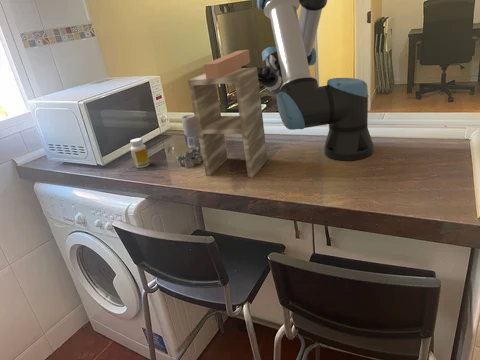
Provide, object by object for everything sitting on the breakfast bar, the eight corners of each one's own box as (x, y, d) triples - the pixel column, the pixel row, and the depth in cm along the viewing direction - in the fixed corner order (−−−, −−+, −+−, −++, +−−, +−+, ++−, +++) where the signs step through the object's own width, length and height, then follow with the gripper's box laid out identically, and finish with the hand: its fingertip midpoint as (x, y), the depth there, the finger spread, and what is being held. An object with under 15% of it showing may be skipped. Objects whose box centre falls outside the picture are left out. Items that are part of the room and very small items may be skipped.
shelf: (267, 159, 126) (256, 67, 113) (252, 177, 115) (239, 77, 102) (223, 158, 132) (209, 70, 120) (205, 175, 121) (187, 80, 108)
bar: (250, 62, 124) (248, 49, 122) (219, 78, 104) (216, 63, 103) (238, 63, 126) (237, 50, 124) (206, 79, 106) (203, 64, 104)
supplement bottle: (153, 162, 138) (146, 137, 134) (143, 168, 134) (137, 142, 130) (141, 161, 141) (134, 137, 137) (132, 167, 136) (124, 142, 132)
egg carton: (188, 169, 128) (186, 158, 126) (175, 165, 133) (173, 154, 132) (212, 158, 134) (210, 147, 133) (198, 155, 140) (196, 144, 138)
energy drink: (193, 143, 152) (187, 114, 147) (203, 144, 149) (198, 114, 144) (184, 148, 148) (178, 118, 143) (194, 149, 145) (188, 119, 140)
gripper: (300, 86, 146) (286, 68, 126) (239, 89, 155) (218, 73, 135) (301, 66, 146) (287, 46, 126) (240, 70, 155) (219, 52, 135)
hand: (251, 60), depth 131 cm, fingers open, 13 cm apart
